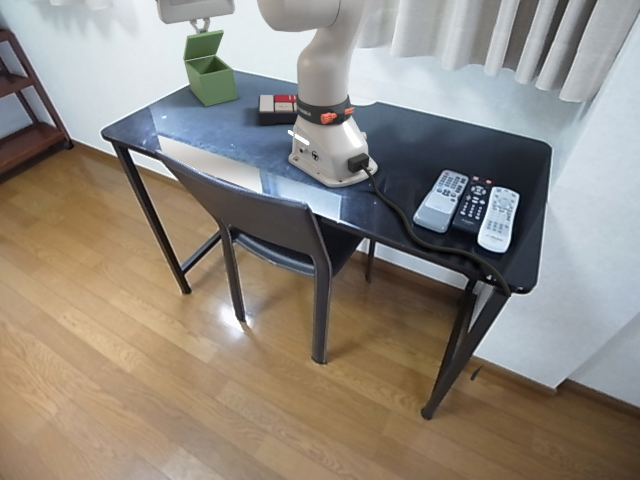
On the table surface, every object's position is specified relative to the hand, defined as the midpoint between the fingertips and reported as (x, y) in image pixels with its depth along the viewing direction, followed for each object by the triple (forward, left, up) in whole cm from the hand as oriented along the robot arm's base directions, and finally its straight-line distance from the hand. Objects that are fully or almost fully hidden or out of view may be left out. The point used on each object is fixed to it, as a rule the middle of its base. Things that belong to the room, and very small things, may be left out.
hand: (203, 36), depth 104 cm
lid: (+2, 0, -3) cm, 4 cm away
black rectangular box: (-23, -12, -17) cm, 31 cm away
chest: (+1, 0, -17) cm, 17 cm away
